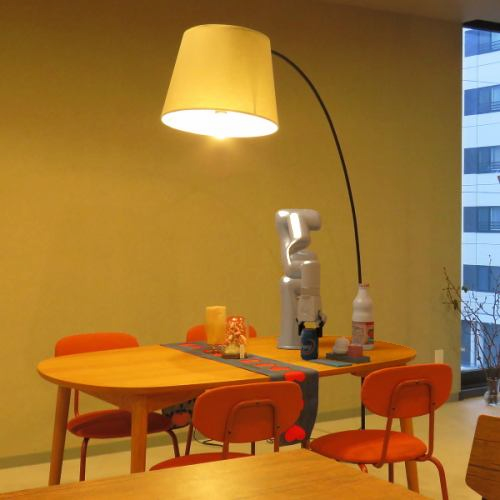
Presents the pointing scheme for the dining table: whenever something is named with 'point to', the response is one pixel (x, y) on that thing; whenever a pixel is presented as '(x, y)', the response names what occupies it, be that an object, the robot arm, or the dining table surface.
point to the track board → (330, 362)
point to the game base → (348, 358)
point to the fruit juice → (363, 319)
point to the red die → (355, 350)
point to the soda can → (309, 344)
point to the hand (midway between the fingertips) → (310, 336)
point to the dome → (341, 346)
